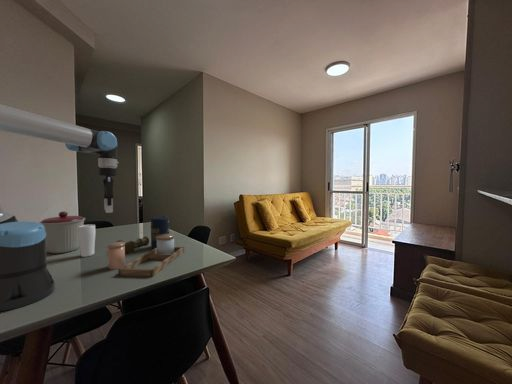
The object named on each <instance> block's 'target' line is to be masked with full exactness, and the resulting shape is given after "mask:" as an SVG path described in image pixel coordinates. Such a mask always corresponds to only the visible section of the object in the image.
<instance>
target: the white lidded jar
mask: <svg viewBox="0 0 512 384" xmlns="http://www.w3.org/2000/svg"><path fill="white" fill-rule="evenodd" d="M175 236H176V235H175V233H169V234H161V235H157V236H156V239H157V254H173V253H175V252H174V247H175Z"/></svg>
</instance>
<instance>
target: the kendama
mask: <svg viewBox="0 0 512 384" xmlns="http://www.w3.org/2000/svg"><path fill="white" fill-rule="evenodd" d="M116 242H125V241H124V240H121V239H120V240H117V241H116ZM149 243H150V238H149V237H148V236H147V235H146V236H143V237H142V238H140V237H139V238H137V240H135V241H132V240H129V241H127V242H125V253H127V254H129V253H132V252H133V251H134V250H135V249H136V246H139V247H142V246H143V245H144V246H148V245H149Z"/></svg>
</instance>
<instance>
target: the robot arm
mask: <svg viewBox="0 0 512 384" xmlns="http://www.w3.org/2000/svg"><path fill="white" fill-rule="evenodd" d="M0 131H3V132H6V133H11V134H17V135H22V136H26V137H32V138H36V139H43V140H45V141H46V140H47V141H53V142H56V143H63V144H65V147H66V149H67V150H68V151H71V152H78V153H84V154H85V153H86V154H92V155H93V154H94V155H98V158H97V160H98V161H97V163H98V165H97V166H98V167H99V168H98V176H100V177H104V179H102V183H103V188H104V189H103V190H104V193H103V196H104V197H103V199H104V200H103V203H104V204H103V205H104V208H103V209H104V211H105V214H106V213H107V214H110V213H113V212H114V200H113V199H114V189H113V188H114V178H113V177H117V176H118V169H117V168H118V164H120V163H119V161H118V139H117V137H116V136H115V135H114V134H113V133H112V132H111V131H105V130H101V131H98V130H94V129H92V128H87V127H83V126H80V125H76V124H73V123H70V122H67V121H66V122H65V121H62V120H58V119H56V118H51V117H48V116H44V115H40V114H37V113H34V112H30V111H26V110H22V109H18V108H15V107H11V106H8V105H5V104H1V103H0ZM55 290H56V282H55V280H54V279H53V276H52V275H51V273H50V271H49V269H48V267H47V250H46V232H45V227H44V225H42V224H41V223H39V222H37V221H27V220H26V221H25V220H24V221H19V220H18V219H17V217H16V216H15V214H14V213H11V212H7V211H5V210H4V209H3V207H2V206H1V205H0V312H4V311H9V310H14V309H17V308H22V307H25V306H29V305H31V304H33V303H36V302H38V301H40V300H42V299H45V298H46V297H48V296H50V295H51V294H52V293H53V292H54V291H55Z"/></svg>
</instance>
